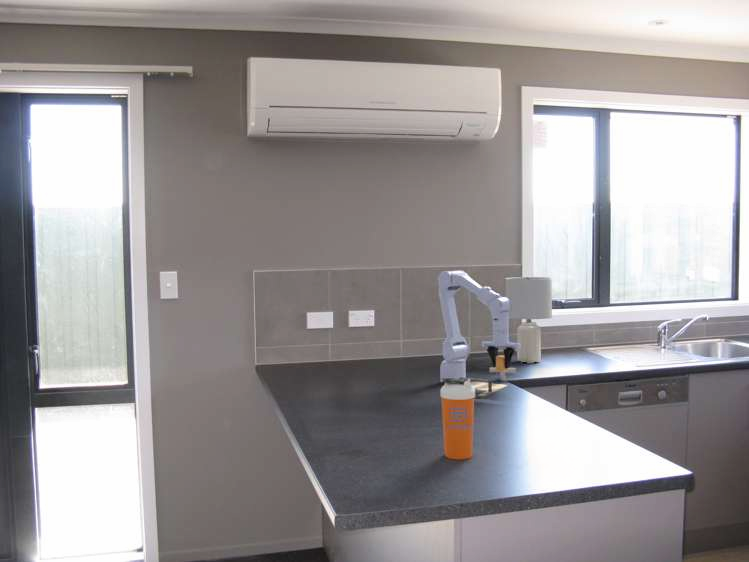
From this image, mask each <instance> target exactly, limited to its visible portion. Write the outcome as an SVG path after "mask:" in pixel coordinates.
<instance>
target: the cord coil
mask: <svg viewBox="0 0 749 562" xmlns="http://www.w3.org/2000/svg"><path fill="white" fill-rule="evenodd" d="M506 370H507V369H505V356H504V355H498V356H496V371H506Z"/></svg>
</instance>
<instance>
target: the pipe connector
mask: <svg viewBox="0 0 749 562" xmlns="http://www.w3.org/2000/svg"><path fill="white" fill-rule="evenodd" d="M516 370H517V368H516V367H509V368H507V370H506V371H496V368H494V367H489V373H499V376H500V377H499V379H500V380H499V381H506V373H514V374H515V373H517V371H516Z"/></svg>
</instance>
